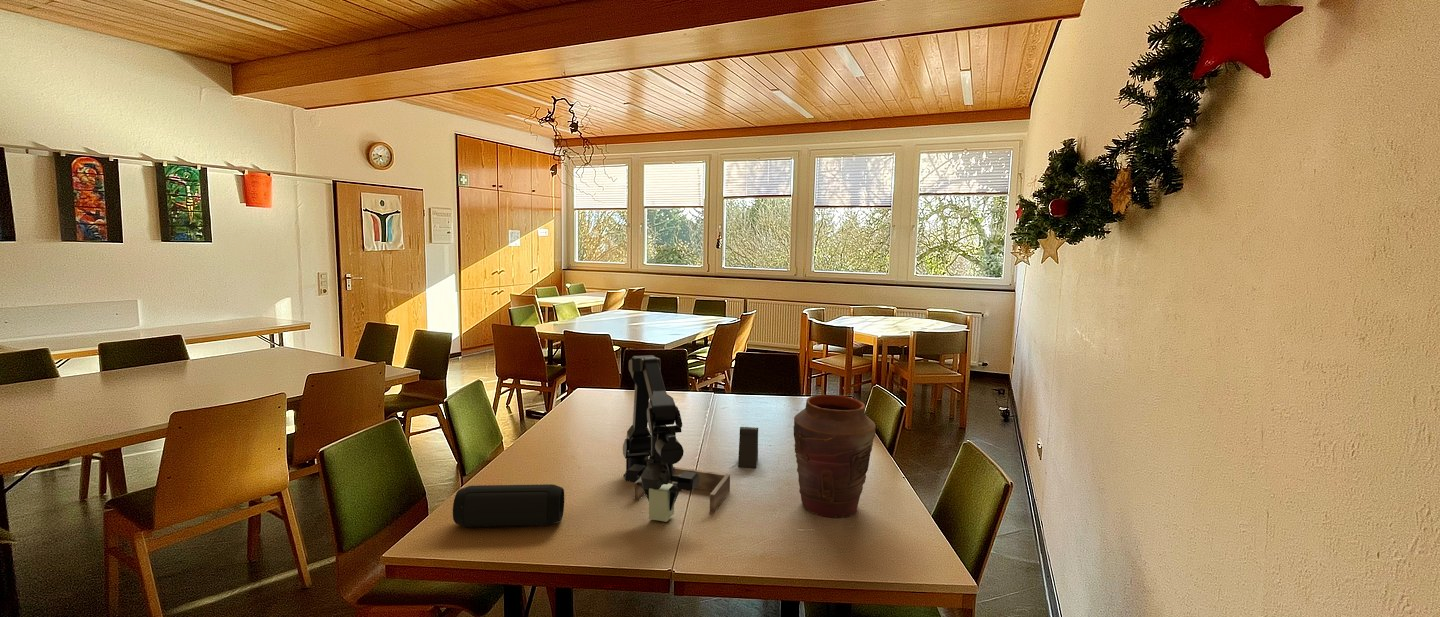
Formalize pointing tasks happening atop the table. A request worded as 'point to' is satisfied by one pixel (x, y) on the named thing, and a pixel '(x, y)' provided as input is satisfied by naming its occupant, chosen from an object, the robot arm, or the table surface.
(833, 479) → the vase
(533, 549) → the table surface
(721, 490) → the wooden u-shaped frame
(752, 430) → the door stopper
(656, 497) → the block
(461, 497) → the portable speaker
